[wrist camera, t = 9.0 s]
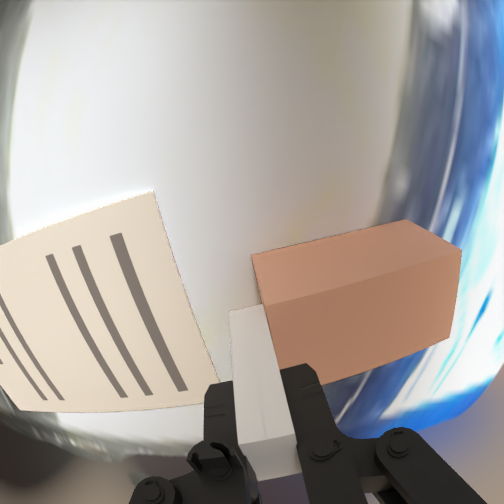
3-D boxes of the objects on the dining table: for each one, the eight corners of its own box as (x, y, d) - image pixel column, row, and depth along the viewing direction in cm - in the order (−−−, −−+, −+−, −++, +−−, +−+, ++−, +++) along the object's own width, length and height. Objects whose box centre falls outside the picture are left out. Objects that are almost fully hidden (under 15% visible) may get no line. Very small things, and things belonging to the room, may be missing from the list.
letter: (-59, 273, 14) (-61, 275, 13) (153, 190, 14) (151, 191, 14) (21, 407, 19) (20, 410, 18) (226, 396, 19) (226, 399, 19)
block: (264, 305, 11) (461, 249, 11) (251, 254, 16) (405, 219, 16) (284, 394, 13) (449, 337, 13) (268, 332, 17) (405, 294, 18)
